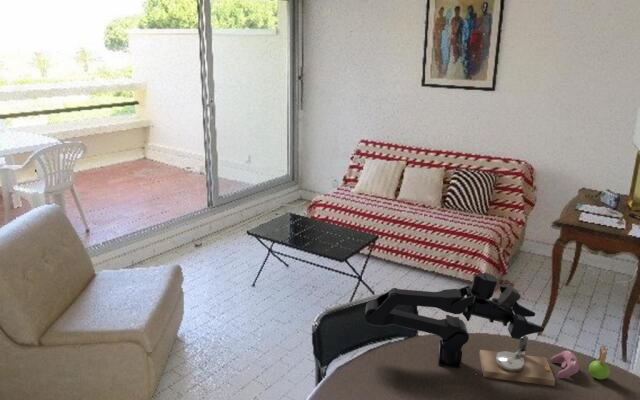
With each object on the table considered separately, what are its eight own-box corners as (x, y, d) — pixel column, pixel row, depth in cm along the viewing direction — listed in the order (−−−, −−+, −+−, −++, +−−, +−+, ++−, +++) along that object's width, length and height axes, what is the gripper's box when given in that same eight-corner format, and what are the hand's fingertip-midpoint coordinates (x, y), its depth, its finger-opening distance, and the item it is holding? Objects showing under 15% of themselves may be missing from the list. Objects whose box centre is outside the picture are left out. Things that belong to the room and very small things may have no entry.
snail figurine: (589, 382, 150) (595, 346, 147) (586, 370, 156) (593, 336, 153) (609, 386, 148) (616, 350, 145) (606, 374, 154) (613, 339, 151)
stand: (483, 376, 151) (484, 369, 151) (479, 355, 163) (480, 348, 162) (554, 386, 148) (555, 378, 147) (544, 363, 159) (545, 356, 158)
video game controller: (570, 385, 151) (584, 368, 149) (556, 377, 151) (570, 360, 149) (561, 366, 160) (575, 350, 158) (548, 359, 161) (562, 343, 158)
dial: (516, 375, 149) (518, 356, 147) (491, 363, 154) (493, 345, 153) (535, 358, 157) (538, 340, 156) (511, 348, 163) (513, 330, 161)
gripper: (502, 299, 142) (557, 313, 140) (489, 273, 159) (539, 285, 158) (490, 333, 145) (545, 347, 143) (479, 304, 162) (527, 316, 161)
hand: (539, 321), depth 152 cm, fingers open, 9 cm apart
